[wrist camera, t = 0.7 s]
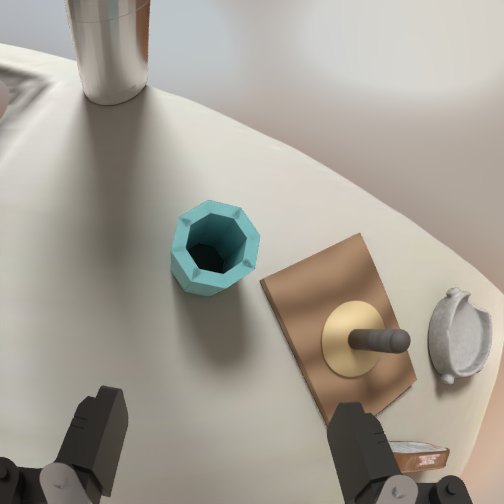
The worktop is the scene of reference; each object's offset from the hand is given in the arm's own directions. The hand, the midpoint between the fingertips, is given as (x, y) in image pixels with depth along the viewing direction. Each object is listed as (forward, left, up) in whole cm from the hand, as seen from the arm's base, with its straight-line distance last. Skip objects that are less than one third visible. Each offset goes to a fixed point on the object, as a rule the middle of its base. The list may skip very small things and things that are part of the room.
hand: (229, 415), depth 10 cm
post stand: (+7, +17, -21) cm, 28 cm away
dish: (+18, +35, -22) cm, 45 cm away
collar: (-8, +5, -21) cm, 23 cm away
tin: (+26, +17, -22) cm, 38 cm away
